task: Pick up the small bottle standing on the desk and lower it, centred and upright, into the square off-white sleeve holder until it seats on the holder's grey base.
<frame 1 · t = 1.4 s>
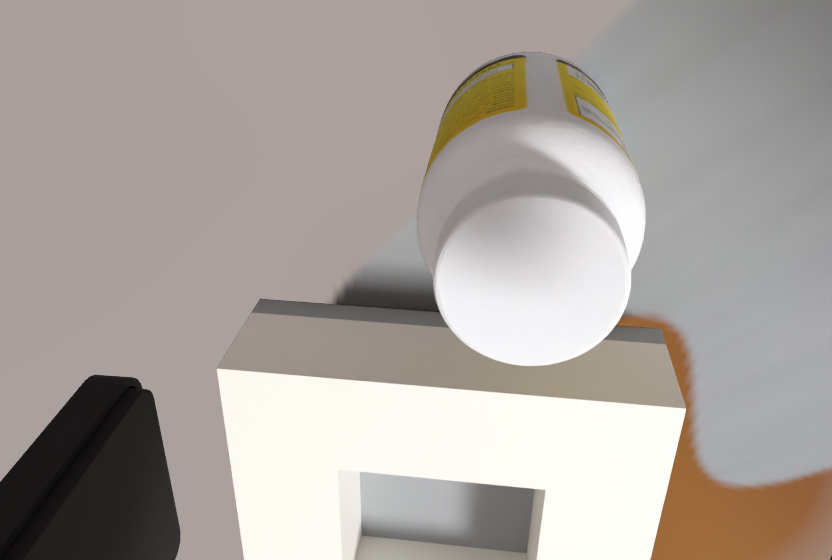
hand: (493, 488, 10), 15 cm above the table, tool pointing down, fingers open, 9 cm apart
supplement bottle: (525, 135, 23), on the table
sleeve holder: (448, 465, 30), on the table
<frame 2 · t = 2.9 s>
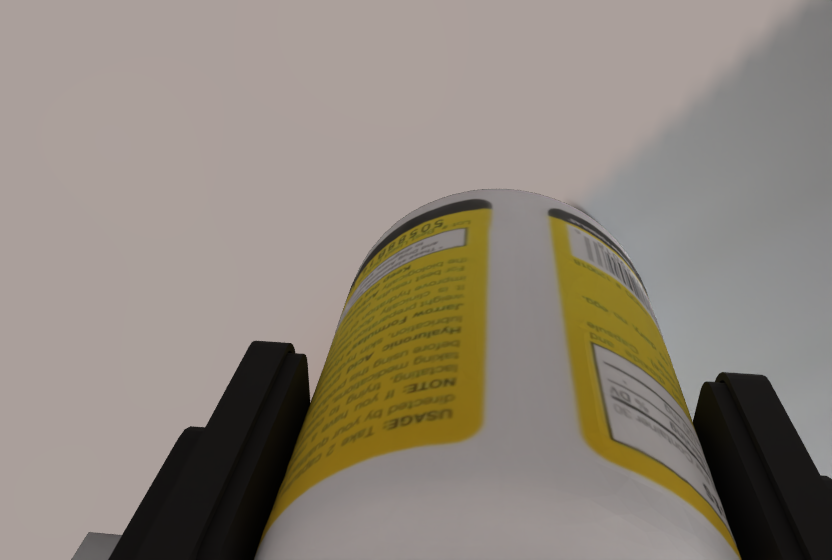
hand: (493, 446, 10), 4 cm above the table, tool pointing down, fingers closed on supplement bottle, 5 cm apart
supplement bottle: (496, 312, 14), on the table, touching gripper
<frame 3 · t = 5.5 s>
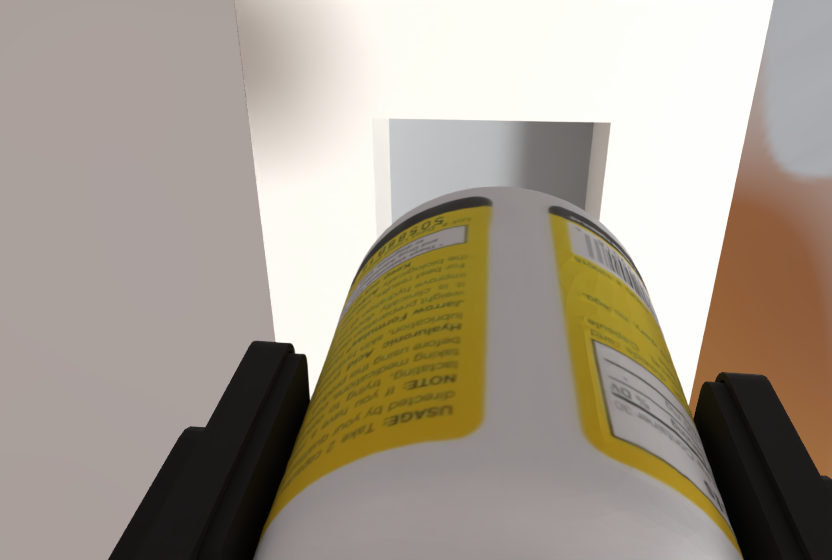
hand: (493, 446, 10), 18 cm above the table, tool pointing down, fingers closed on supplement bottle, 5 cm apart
supplement bottle: (496, 310, 14), point 14 cm above the table, touching gripper
sleeve holder: (487, 178, 27), on the table
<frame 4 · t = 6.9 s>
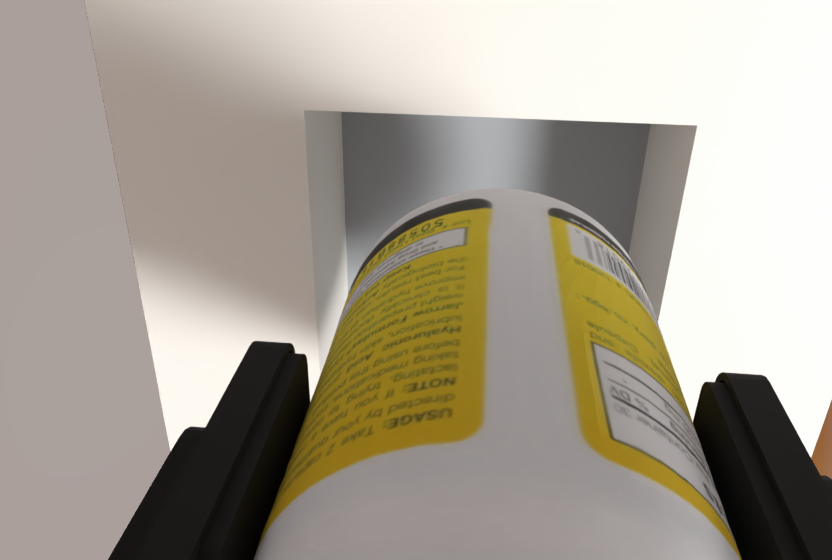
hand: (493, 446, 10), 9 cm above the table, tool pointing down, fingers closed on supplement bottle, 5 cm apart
supplement bottle: (496, 312, 14), point 6 cm above the table, touching gripper
sleeve holder: (487, 203, 19), on the table
when the fingers open (6 cm above the table, at t = 8.2 s): supplement bottle drops 1 cm, resting on sleeve holder.
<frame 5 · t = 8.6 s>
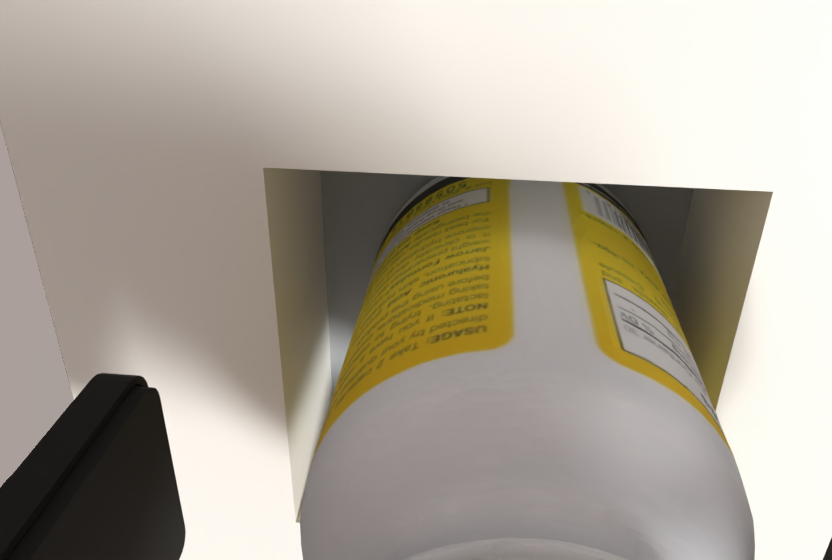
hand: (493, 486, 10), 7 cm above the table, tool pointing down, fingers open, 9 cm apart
supplement bottle: (511, 273, 15), point 1 cm above the table, touching sleeve holder
sleeve holder: (495, 259, 16), on the table
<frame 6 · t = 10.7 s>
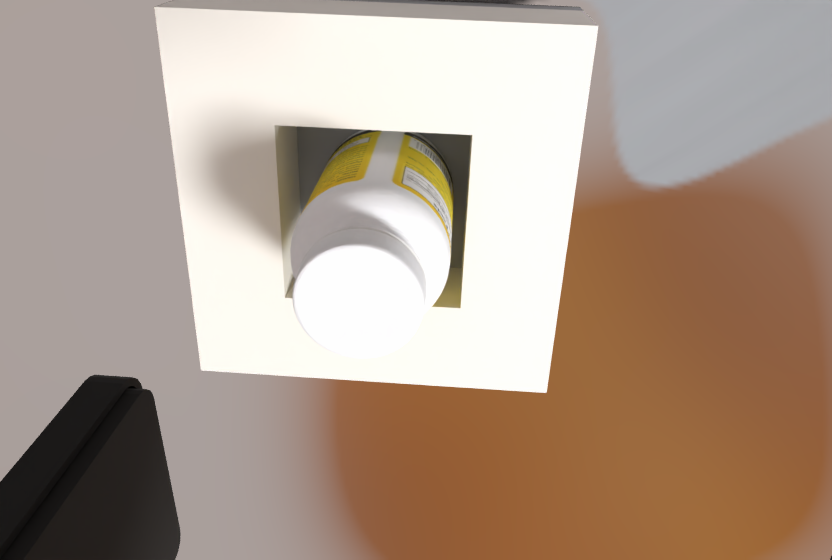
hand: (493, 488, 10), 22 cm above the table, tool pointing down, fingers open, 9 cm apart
supplement bottle: (390, 185, 30), point 1 cm above the table, touching sleeve holder
sleeve holder: (385, 180, 31), on the table
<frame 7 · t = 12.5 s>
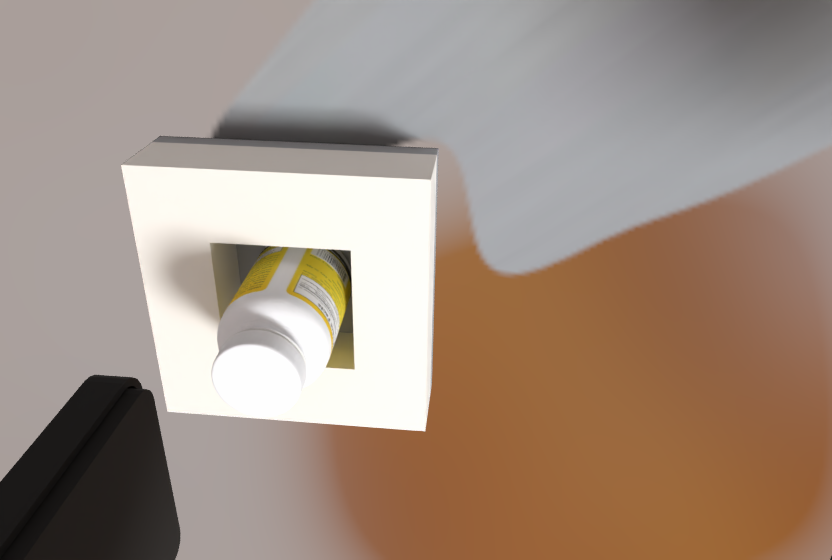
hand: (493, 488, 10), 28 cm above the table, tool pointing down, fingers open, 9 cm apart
supplement bottle: (307, 273, 40), point 1 cm above the table, touching sleeve holder
sleeve holder: (305, 267, 41), on the table
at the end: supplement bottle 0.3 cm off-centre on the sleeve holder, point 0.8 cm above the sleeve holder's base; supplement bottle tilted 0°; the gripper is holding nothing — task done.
